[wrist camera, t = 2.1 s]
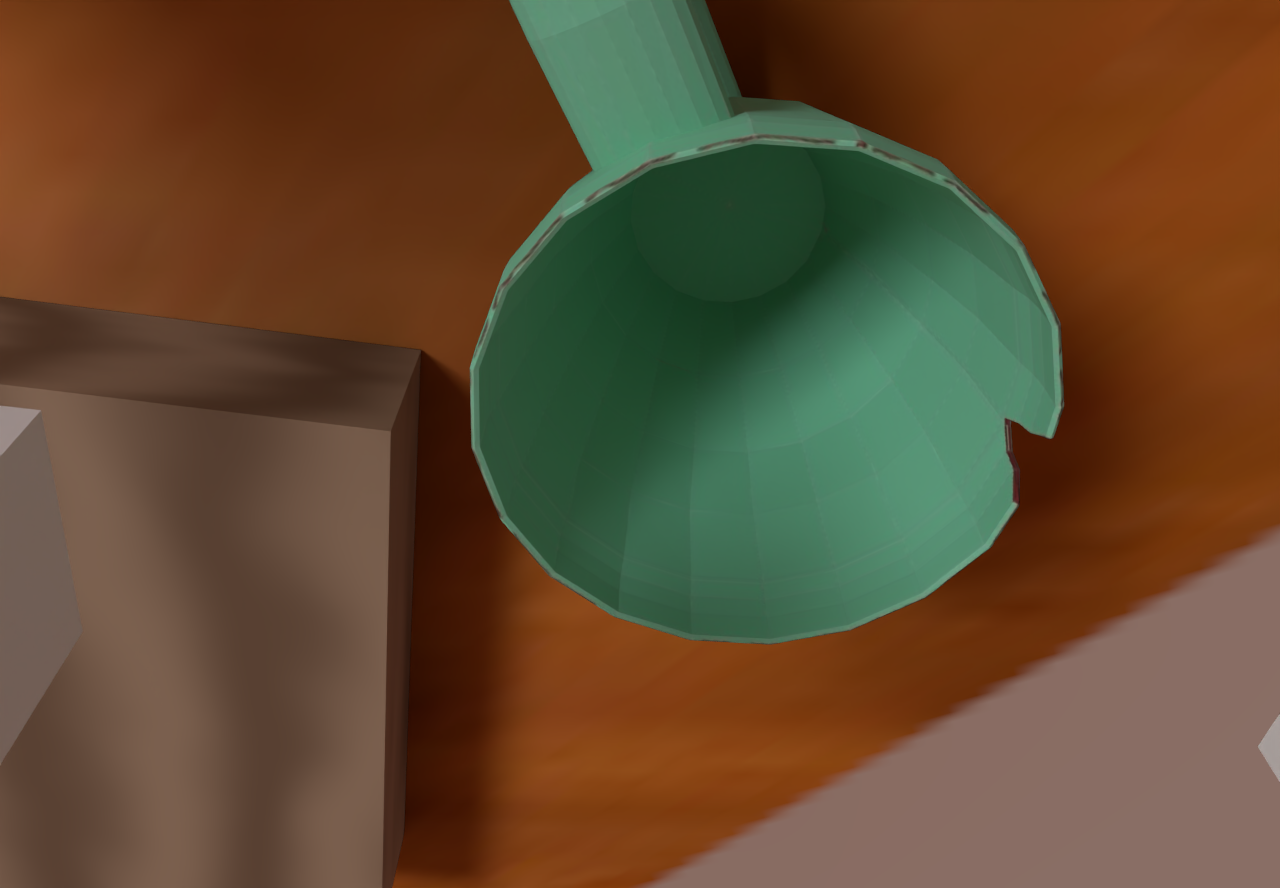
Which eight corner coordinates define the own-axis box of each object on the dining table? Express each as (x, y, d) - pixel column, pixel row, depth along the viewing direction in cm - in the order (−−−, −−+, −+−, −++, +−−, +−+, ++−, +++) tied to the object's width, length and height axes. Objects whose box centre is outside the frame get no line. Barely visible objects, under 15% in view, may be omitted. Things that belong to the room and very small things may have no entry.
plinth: (420, 349, 28) (390, 431, 25) (404, 833, 39) (381, 935, 36) (-384, 248, 27) (-530, 320, 24) (-172, 779, 38) (-252, 880, 34)
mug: (974, 307, 28) (1116, 552, 19) (622, 433, 30) (612, 703, 21) (789, -344, 20) (888, -404, 12) (340, -116, 23) (158, -32, 14)
